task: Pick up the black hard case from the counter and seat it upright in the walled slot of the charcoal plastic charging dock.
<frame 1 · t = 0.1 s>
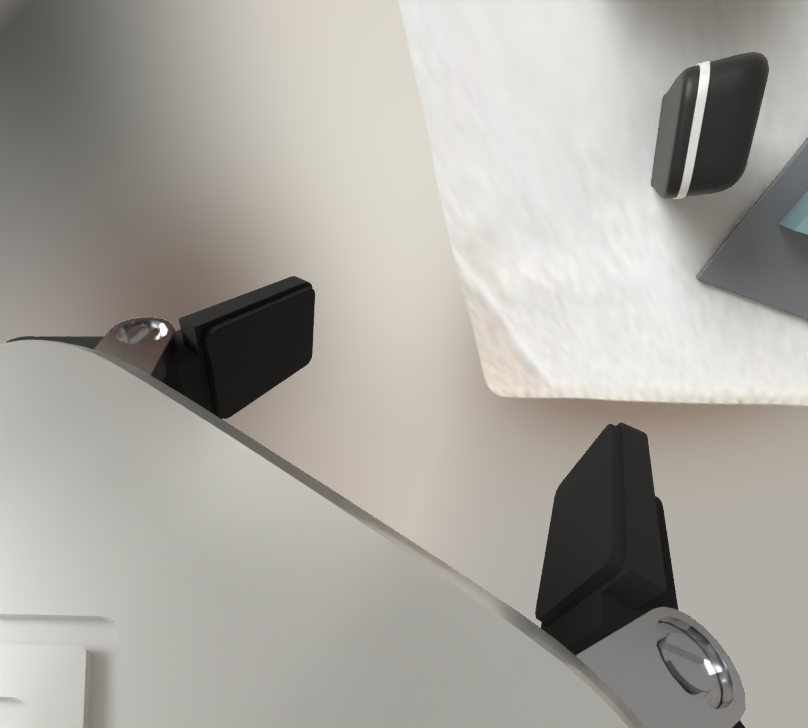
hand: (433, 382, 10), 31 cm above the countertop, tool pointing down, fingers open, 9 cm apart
black hard case: (684, 138, 27), on the countertop
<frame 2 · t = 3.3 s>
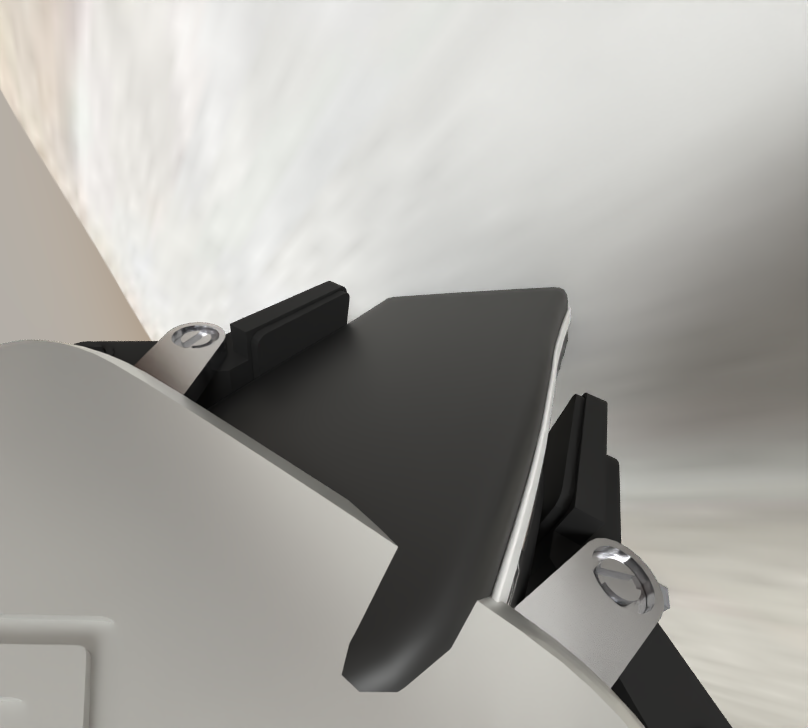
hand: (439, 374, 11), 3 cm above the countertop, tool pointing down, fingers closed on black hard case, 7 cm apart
black hard case: (474, 336, 13), on the countertop, touching gripper
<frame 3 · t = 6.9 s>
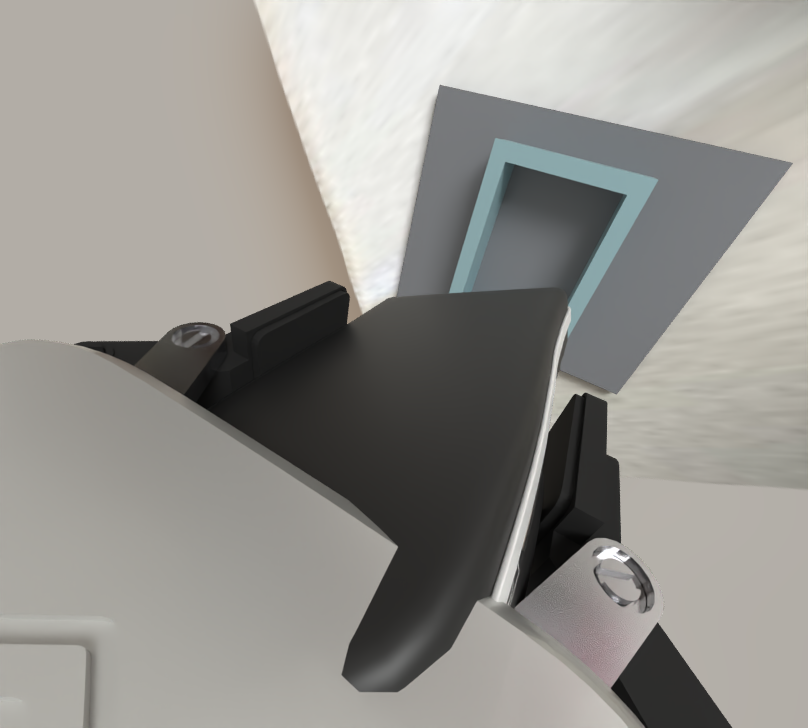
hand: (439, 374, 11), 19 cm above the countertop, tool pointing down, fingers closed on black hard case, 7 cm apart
charging dock: (537, 249, 25), on the countertop
black hard case: (474, 336, 13), point 16 cm above the countertop, touching gripper
when the fingers open (5 cm above the countertop, at t = 10.4 s): black hard case drops 1 cm, resting on charging dock.
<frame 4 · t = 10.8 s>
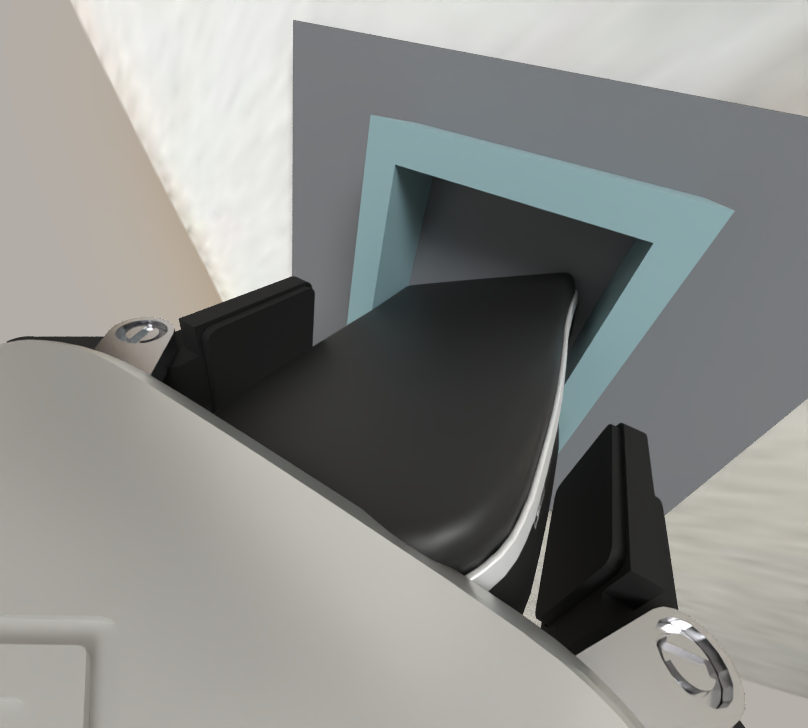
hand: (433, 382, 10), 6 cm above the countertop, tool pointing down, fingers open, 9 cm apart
charging dock: (486, 315, 15), on the countertop
black hard case: (487, 320, 14), point 1 cm above the countertop, touching charging dock
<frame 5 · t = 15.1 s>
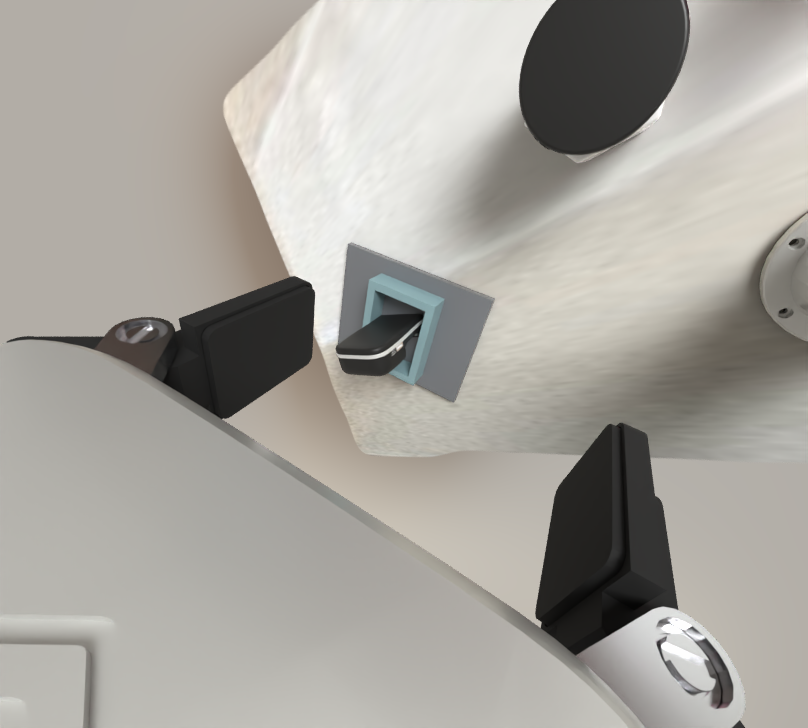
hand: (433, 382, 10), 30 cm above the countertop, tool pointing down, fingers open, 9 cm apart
charging dock: (405, 324, 47), on the countertop
black hard case: (405, 326, 46), point 1 cm above the countertop, touching charging dock
jar: (600, 97, 28), on the countertop
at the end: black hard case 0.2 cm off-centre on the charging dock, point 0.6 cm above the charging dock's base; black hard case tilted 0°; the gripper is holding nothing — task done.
